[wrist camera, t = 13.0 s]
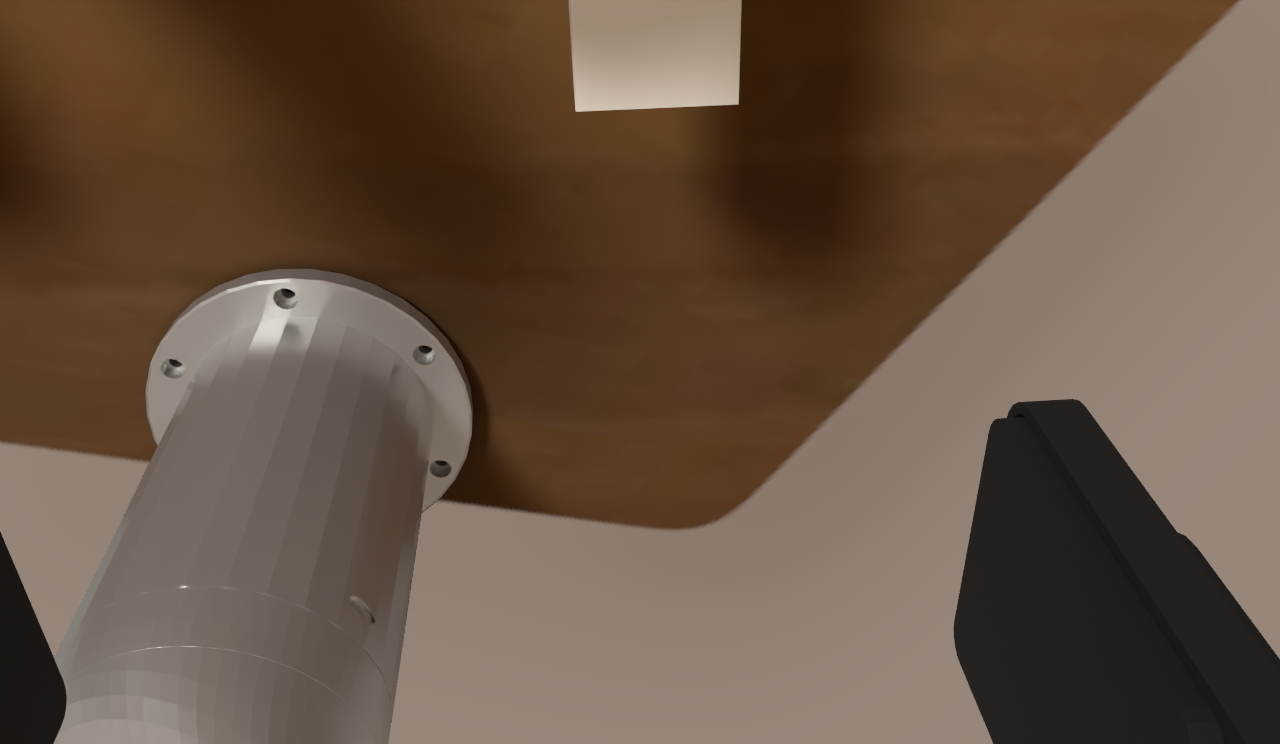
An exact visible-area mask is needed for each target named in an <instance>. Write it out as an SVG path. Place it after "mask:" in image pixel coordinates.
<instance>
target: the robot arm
mask: <svg viewBox="0 0 1280 744" xmlns="http://www.w3.org/2000/svg"><path fill="white" fill-rule="evenodd" d="M284 288H285V289H290V290H291V291H293V293H291V292H287V291H286V290H285V289H284ZM422 345H424V346H429V348H424V347H422ZM146 405H147V417H148V420H149V423H150V427H151V430H152V433H153V436H154V439H155V442H156V444H157V445H158V447H157V449H156V451H155V453H154V455H153V457H152V459H151V461H150V463H149V465H148V467H147V469H146V471H145V473H144V475H143V477H142V479H141V481H140V483H139V485H138V487H137V489H136V491H135V493H134V495H133V497H132V499H131V501H130V503H129V505H128V507H127V510H126V511H125V514H124V516H123V518H122V520H121V522H120V524H119V526H118V528H117V530H116V532H115V534H114V536H113V538H112V540H111V542H110V544H109V546H108V548H107V550H106V552H105V554H104V556H103V558H102V560H101V562H100V564H99V566H98V568H97V570H96V572H95V574H94V576H93V578H92V580H91V582H90V584H89V586H88V588H87V590H86V593H85V594H84V596H83V598H82V600H81V602H80V605H79V607H78V608H77V610H76V612H75V615H74V617H73V619H72V621H71V623H70V625H69V627H68V629H67V631H66V633H65V635H64V638H63V640H62V642H61V644H60V647H59V648H58V650H57V652H56V654H55V655H54V657H53V655H52V652H51V650H50V648H49V645H48V643H47V641H46V638H45V636H44V634H43V631H42V629H41V627H40V624H39V622H38V619H37V617H36V615H35V613H34V610H33V608H32V606H31V603H30V601H29V598H28V596H27V594H26V591H25V589H24V586H23V584H22V582H21V580H20V577H19V575H18V573H17V570H16V568H15V565H14V563H13V561H12V558H11V556H10V554H9V551H8V549H7V547H6V544H5V542H4V539H3V537H2V535H1V532H0V744H388V742H389V734H390V727H391V722H392V715H393V709H394V701H395V695H396V694H395V693H396V687H397V680H398V673H399V667H400V660H401V652H402V645H403V639H404V632H405V625H406V617H407V611H408V604H409V596H410V589H411V582H412V576H413V569H414V562H415V555H416V548H417V541H418V534H419V527H420V520H421V513H423V512H424V511H425V510H426V509H428V508H429V507H430V506H431V505H433V504H434V503H435V502H436V501H437V500H439V499H440V498H441V497H442V495H443V494H444V493H445V492H446V491H447V489H448V488H449V487H450V486H451V484H452V483H453V482H454V481H455V479H456V477H457V475H458V473H459V471H460V469H461V467H462V465H463V463H464V461H465V459H466V457H467V453H468V448H469V444H470V440H471V436H472V423H473V404H472V396H471V388H470V384H469V382H468V379H467V376H466V373H465V370H464V368H463V365H462V362H461V361H460V359H459V357H458V356H457V354H456V352H455V351H454V349H453V348H452V346H451V344H450V343H449V341H448V339H447V338H446V337H445V336H444V335H443V334H442V333H441V332H440V331H439V330H438V328H437V327H436V326H435V325H434V324H433V323H432V322H431V321H430V320H429V319H428V318H427V317H426V316H425V315H423V314H422V313H421V312H419V311H418V310H417V309H416V308H414V307H413V306H412V305H410V304H409V303H408V302H406V301H405V300H404V299H402V298H400V297H398V296H396V295H394V294H392V293H390V292H389V291H387V290H385V289H383V288H381V287H379V286H377V285H375V284H372V283H369V282H366V281H363V280H360V279H357V278H354V277H351V276H348V275H345V274H340V273H334V272H327V271H321V270H315V269H276V270H271V271H265V272H260V273H254V274H248V275H245V276H242V277H240V278H237V279H234V280H232V281H229V282H227V283H224V284H221V285H219V286H217V287H215V288H214V289H212V290H211V291H209V292H207V293H206V294H204V295H203V296H201V297H199V298H198V299H196V300H195V301H193V302H192V303H191V304H190V305H189V306H188V307H187V308H186V309H185V310H184V311H183V312H182V313H181V314H180V315H179V316H178V317H177V318H176V319H175V320H174V322H173V323H172V325H171V327H170V328H169V330H168V331H167V333H166V334H165V336H164V338H163V339H162V341H161V342H160V344H159V346H158V348H157V350H156V353H155V355H154V357H153V359H152V361H151V364H150V368H149V374H148V379H147V385H146ZM954 640H955V647H956V652H957V656H958V659H959V662H960V664H961V667H962V669H963V672H964V674H965V676H966V679H967V681H968V684H969V686H970V689H971V691H972V693H973V696H974V698H975V700H976V703H977V705H978V707H979V710H980V712H981V715H982V717H983V720H984V722H985V724H986V727H987V729H988V732H989V734H990V736H991V739H992V741H993V744H1280V659H1279V658H1278V657H1277V655H1276V654H1275V652H1274V651H1273V650H1272V648H1271V647H1270V645H1269V644H1268V643H1267V641H1266V640H1265V639H1264V637H1263V636H1262V635H1261V633H1260V632H1259V631H1258V629H1257V628H1256V627H1255V625H1254V624H1253V623H1252V621H1251V620H1250V619H1249V617H1248V616H1247V615H1246V613H1245V612H1244V610H1243V609H1242V608H1241V606H1240V605H1239V604H1238V602H1237V601H1236V600H1235V598H1234V597H1233V596H1232V594H1231V593H1230V591H1229V590H1228V589H1227V587H1226V586H1225V585H1224V583H1223V582H1222V581H1221V579H1220V578H1219V577H1218V575H1217V574H1216V573H1215V571H1214V570H1213V568H1212V567H1211V566H1210V565H1209V563H1208V562H1207V560H1206V559H1205V558H1204V556H1203V555H1202V554H1201V552H1200V551H1199V550H1198V548H1197V547H1196V546H1195V545H1194V544H1193V543H1192V542H1191V541H1190V540H1189V539H1188V538H1187V537H1186V536H1184V535H1182V534H1180V533H1177V532H1176V530H1175V529H1174V527H1173V526H1172V525H1171V523H1170V522H1169V521H1168V519H1167V518H1166V516H1165V515H1164V514H1163V512H1162V511H1161V510H1160V508H1159V507H1158V506H1157V504H1156V503H1155V501H1154V500H1153V499H1152V497H1151V496H1150V495H1149V493H1148V492H1147V491H1146V489H1145V488H1144V486H1143V485H1142V484H1141V482H1140V481H1139V480H1138V478H1137V477H1136V475H1135V474H1134V473H1133V471H1132V470H1131V469H1130V467H1129V466H1128V464H1127V463H1126V462H1125V461H1124V459H1123V458H1122V457H1121V455H1120V454H1119V452H1118V451H1117V449H1116V448H1115V447H1114V445H1113V444H1112V442H1111V441H1110V440H1109V438H1108V437H1107V436H1106V434H1105V433H1104V432H1103V430H1102V429H1101V427H1100V426H1099V425H1098V423H1097V422H1096V421H1095V419H1094V418H1093V417H1092V415H1091V414H1090V412H1089V411H1088V410H1087V408H1086V407H1085V406H1084V405H1083V404H1082V403H1081V402H1080V401H1078V400H1074V399H1067V400H1050V401H1033V402H1018V403H1016V404H1014V405H1013V406H1012V407H1011V409H1010V411H1009V413H1008V416H1007V418H1002V419H996V420H994V421H993V423H992V424H991V427H990V430H989V434H988V440H987V445H986V451H985V456H984V462H983V467H982V473H981V478H980V484H979V489H978V495H977V501H976V506H975V511H974V517H973V522H972V528H971V533H970V539H969V544H968V549H967V555H966V561H965V566H964V571H963V577H962V582H961V588H960V594H959V599H958V604H957V610H956V615H955V622H954Z"/></svg>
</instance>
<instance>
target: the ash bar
mask: <svg viewBox="0 0 1280 744" xmlns="http://www.w3.org/2000/svg"><path fill="white" fill-rule="evenodd" d="M741 2H742V0H569V14H570V33H571V52H572V69H573V82H574V96H575V109H576V112H579V111H602V110H624V109H647V108H669V107H692V106H715V105H737V104H739V73H740V37H741Z"/></svg>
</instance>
